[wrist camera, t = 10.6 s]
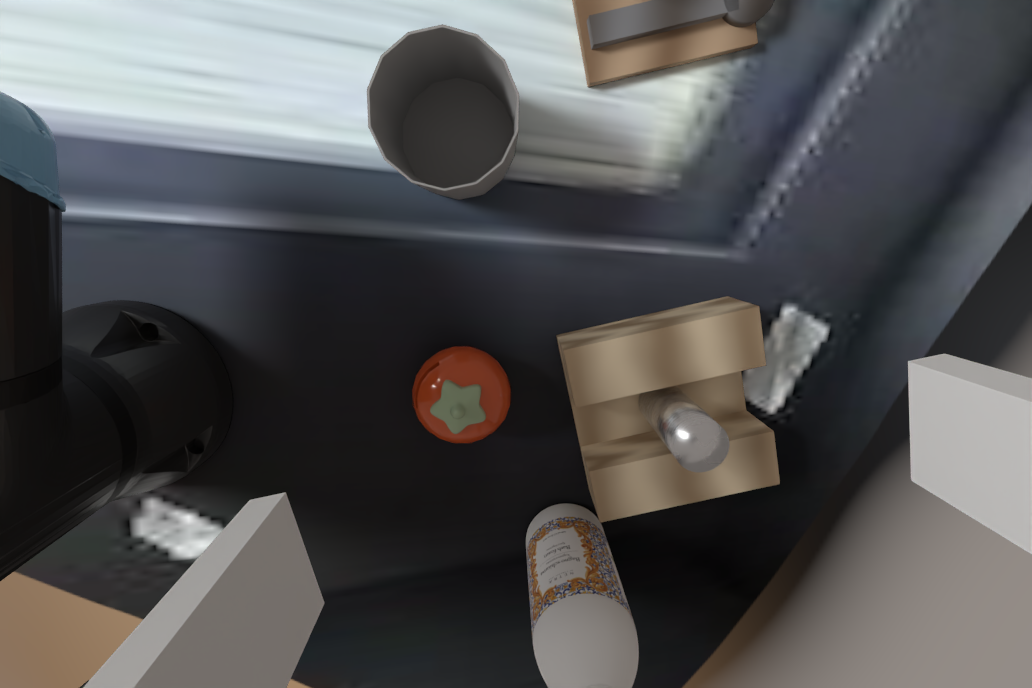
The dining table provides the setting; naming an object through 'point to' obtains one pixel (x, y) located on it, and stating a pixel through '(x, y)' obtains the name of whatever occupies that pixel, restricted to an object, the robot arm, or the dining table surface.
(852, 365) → the dining table surface
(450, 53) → the cup
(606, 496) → the slot block
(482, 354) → the tomato
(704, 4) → the peg rack
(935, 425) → the robot arm
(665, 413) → the pin
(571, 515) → the bath foam
